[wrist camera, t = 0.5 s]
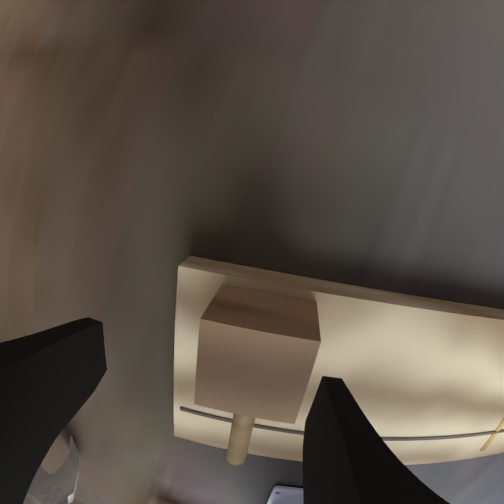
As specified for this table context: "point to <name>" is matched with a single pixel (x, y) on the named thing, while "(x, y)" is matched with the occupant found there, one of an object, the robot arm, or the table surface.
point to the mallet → (255, 359)
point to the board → (362, 365)
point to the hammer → (56, 482)
